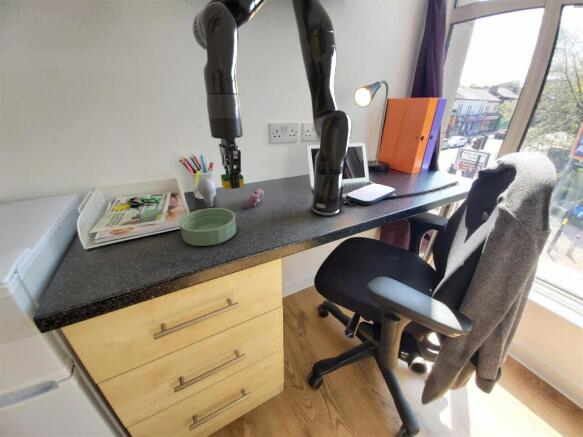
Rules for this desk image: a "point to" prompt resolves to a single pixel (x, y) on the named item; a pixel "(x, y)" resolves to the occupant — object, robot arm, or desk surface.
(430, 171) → the desk surface
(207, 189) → the lightbulb
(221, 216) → the bowl
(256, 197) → the pink knobbly lump
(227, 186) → the sponge
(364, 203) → the external hard drive
